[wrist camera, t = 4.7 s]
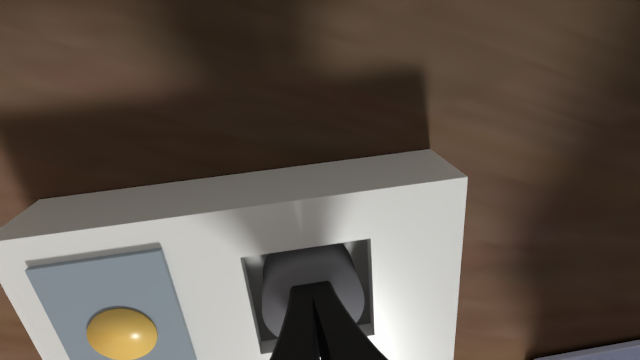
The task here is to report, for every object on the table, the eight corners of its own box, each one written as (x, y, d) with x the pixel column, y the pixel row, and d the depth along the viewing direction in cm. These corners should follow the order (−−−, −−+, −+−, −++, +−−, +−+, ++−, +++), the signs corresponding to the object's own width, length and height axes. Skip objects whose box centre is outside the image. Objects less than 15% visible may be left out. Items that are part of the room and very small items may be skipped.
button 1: (350, 226, 14) (362, 256, 12) (354, 299, 15) (366, 336, 13) (256, 239, 13) (253, 273, 12) (269, 313, 15) (269, 352, 13)
